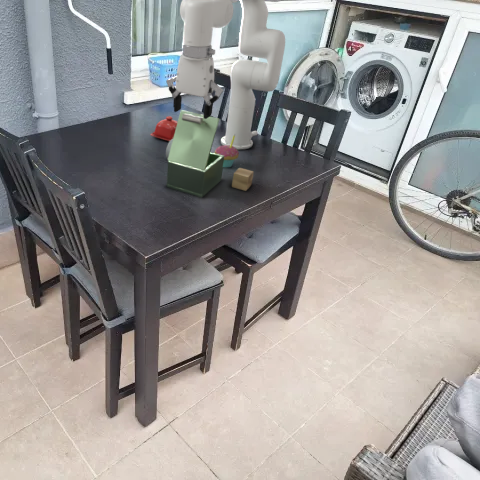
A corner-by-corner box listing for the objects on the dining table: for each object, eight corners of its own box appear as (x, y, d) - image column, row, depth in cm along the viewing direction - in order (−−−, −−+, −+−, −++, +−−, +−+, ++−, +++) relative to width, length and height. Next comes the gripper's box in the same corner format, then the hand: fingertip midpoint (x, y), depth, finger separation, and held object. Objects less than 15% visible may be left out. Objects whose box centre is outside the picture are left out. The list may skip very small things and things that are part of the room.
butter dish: (187, 136, 182) (189, 115, 177) (173, 144, 174) (174, 123, 169) (163, 129, 187) (164, 109, 182) (148, 138, 179) (149, 117, 174)
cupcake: (239, 162, 163) (243, 130, 156) (234, 171, 156) (239, 139, 149) (216, 158, 165) (219, 127, 158) (210, 167, 158) (214, 135, 151)
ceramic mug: (185, 167, 157) (186, 147, 153) (164, 162, 160) (165, 141, 156) (197, 157, 165) (199, 138, 161) (178, 152, 168) (179, 133, 164)
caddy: (187, 170, 155) (189, 146, 150) (221, 180, 150) (224, 155, 145) (166, 186, 145) (167, 161, 140) (201, 197, 139) (204, 171, 134)
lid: (181, 110, 137) (174, 106, 131) (219, 118, 131) (213, 115, 126) (168, 160, 140) (160, 158, 134) (205, 170, 134) (198, 169, 129)
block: (237, 181, 150) (239, 167, 147) (251, 185, 148) (253, 171, 145) (231, 186, 146) (233, 173, 143) (245, 191, 144) (248, 177, 141)
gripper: (231, 53, 118) (224, 116, 128) (175, 44, 125) (172, 104, 135) (220, 59, 113) (213, 124, 123) (161, 49, 120) (159, 111, 130)
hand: (192, 114), depth 129 cm, fingers open, 9 cm apart
